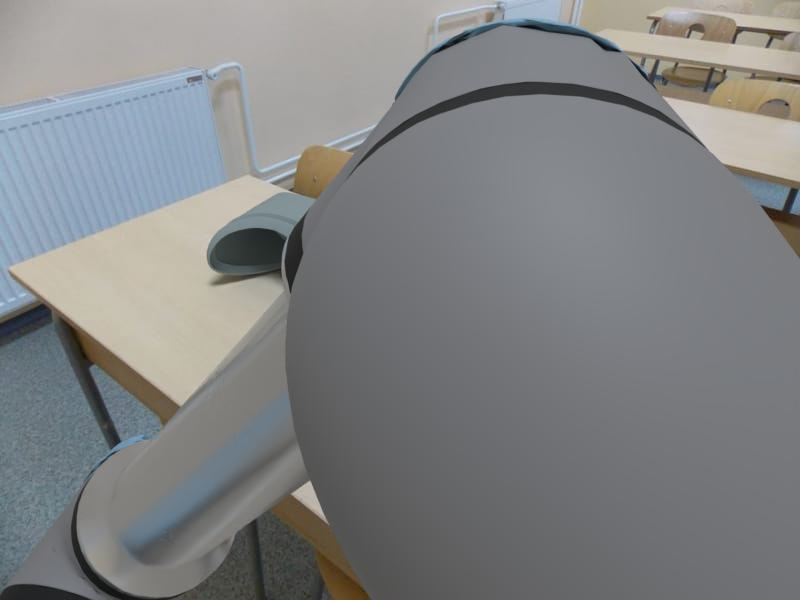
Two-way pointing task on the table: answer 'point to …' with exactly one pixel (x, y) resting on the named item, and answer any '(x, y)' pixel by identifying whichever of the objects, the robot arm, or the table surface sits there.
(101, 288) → the table surface
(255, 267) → the grey-blue hollow shell part
